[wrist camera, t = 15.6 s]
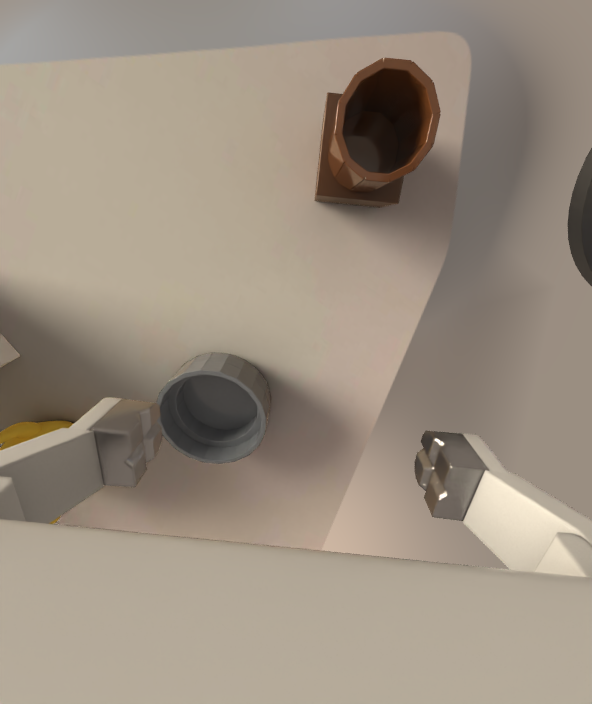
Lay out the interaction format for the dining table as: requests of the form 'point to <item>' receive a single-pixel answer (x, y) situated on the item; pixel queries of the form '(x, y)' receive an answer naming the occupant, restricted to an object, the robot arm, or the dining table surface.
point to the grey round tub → (215, 408)
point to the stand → (331, 188)
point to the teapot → (29, 433)
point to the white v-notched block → (6, 352)
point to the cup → (383, 125)
